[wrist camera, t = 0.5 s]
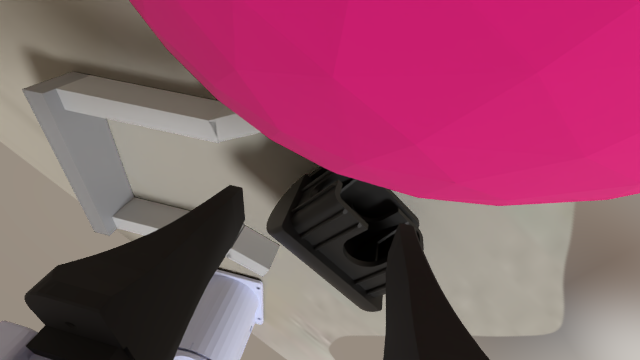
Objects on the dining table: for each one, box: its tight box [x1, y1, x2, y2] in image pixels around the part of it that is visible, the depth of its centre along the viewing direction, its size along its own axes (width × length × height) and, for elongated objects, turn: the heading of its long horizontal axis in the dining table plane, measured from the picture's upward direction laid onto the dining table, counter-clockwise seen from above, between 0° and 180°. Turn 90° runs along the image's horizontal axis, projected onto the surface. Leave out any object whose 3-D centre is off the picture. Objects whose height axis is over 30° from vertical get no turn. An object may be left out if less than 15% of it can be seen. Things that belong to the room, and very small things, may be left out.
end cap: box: [267, 166, 424, 312], centre depth 23 cm, size 10×7×7 cm
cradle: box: [22, 72, 280, 277], centre depth 26 cm, size 18×17×4 cm
